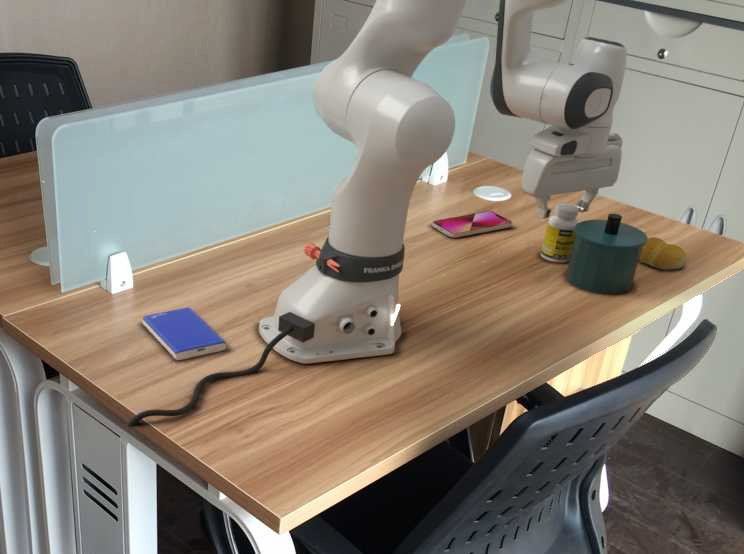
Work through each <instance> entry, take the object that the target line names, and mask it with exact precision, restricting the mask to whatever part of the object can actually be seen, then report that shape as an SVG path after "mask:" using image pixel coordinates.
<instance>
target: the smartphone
mask: <svg viewBox="0 0 744 554" xmlns="http://www.w3.org/2000/svg"><path fill="white" fill-rule="evenodd" d="M431 225H432V227H433V228H434V229H436V230H437V231H438V232H441V233H443V234H444V235H446V236H448V237H450V238H461V237H467V236H473V235H477V234H482V233H488V232H493V231H497V230H498V231H499V230H503V229H508V228H511V227H512V225H513V222H512V221H511V219H508V218H506V217H504V216H502V215H500V214H499V213H496V212H495V211H492V210H486V211H480V212H476V213H475V212H474V213H470V214H464V215H459V216H458V215H457V216H453V217H448V218H442V219H436V220H433V221H432V224H431Z"/></svg>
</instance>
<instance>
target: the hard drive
mask: <svg viewBox="0 0 744 554" xmlns="http://www.w3.org/2000/svg"><path fill="white" fill-rule="evenodd" d="M142 325H143V326H144V327H145V328H146V329H147V330H148V331H149V332H150V334H151V335H152V336H153V337H154V338H155V339H156V340H157V341H158V342H159V343H160V344H161V345H162V347H164V348H165V349H166V351H168V353H169V354H170V355H171V356H172V357H173V358H174V360H176V361H183V360H186V359H191V358H196V357H200V356H204V355H209V354H213V353H218V352H222V351H225V350H226V349H227V342H226V341H225V340H224V339H223V338H222V337H221V336H220V335H219V334H218V333H217V332H216V331H215V330H214V329H213V328H212V327H211V326H210V325H208V323H206V321H204V320H203V319H202V318H201V316H199V314H197V313H196V312H195V311H194V310H193V309H192V308H191V307H182V308H177V309H173V310H167V311H163V312H157V313H152V314H147V315H144V316H143V317H142Z"/></svg>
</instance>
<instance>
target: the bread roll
mask: <svg viewBox="0 0 744 554" xmlns="http://www.w3.org/2000/svg"><path fill="white" fill-rule="evenodd" d="M686 260H687V253H686V251H685V249H684V248H682V247H681V246H679V245H676V244H672V243H667V242H666V241H665V240H664V239H662V238H659V237H656V236H650V237H647V242H646V244H645V245H643V247H642V251H641V254H640V258H639V261H638V262H640V263H642V264H645V265H650V266H651V267H652V268H655V269H658V270H667V271H668V270H677V269H681V268H682V267H683V266H684V265H685V263H686Z"/></svg>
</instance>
